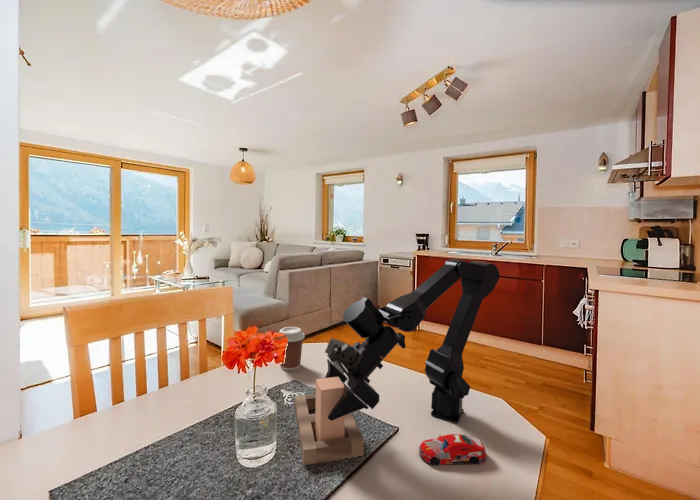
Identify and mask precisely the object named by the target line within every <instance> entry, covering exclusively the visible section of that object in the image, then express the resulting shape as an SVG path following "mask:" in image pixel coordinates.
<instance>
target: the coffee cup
mask: <svg viewBox="0 0 700 500" xmlns="http://www.w3.org/2000/svg"><path fill="white" fill-rule="evenodd" d="M278 333H284V334H285V335H286V337H287V338H288V346H287V349H286V358H285V363H284V364H280V363H279V366H280V369H281V370H285V371H294V370H297V369H299V368H301V363H302V362H301V361H302V352H303V351H302V350H303V340H304V339H305V337H306V335H305V333H304V332H303V331H302V329H301V328H300V327H298V326H297V327H296V326H285V327H283V328H281V329H279V332H278ZM282 338H283V337H282Z"/></svg>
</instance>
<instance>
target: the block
mask: <svg viewBox="0 0 700 500" xmlns="http://www.w3.org/2000/svg"><path fill="white" fill-rule="evenodd" d="M343 383H344V382H343ZM343 383H342V381H341V380H340V378H339V377H331V378H325V377H323V378H316V379H315V394H316V410H314V411H315V412H314V414H315V435H314V439H315V442H318V441H325V440H333V439H340V438H344V416H342V417H340V418H337V419H335V420H332V421H331V420H329V419H328V415H329V414H330V412H331V411H332V409H333V408H334V406H335V405H336V404H337V402H338V401H339V399H340V398H341V397H342V395H343V392H344V384H343Z"/></svg>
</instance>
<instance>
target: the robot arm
mask: <svg viewBox="0 0 700 500" xmlns="http://www.w3.org/2000/svg"><path fill="white" fill-rule="evenodd" d="M500 276H501V275H500V271H499V269H498V267H497V266H496V265H495V263H489V262H481V261H473V260H471V261H469V262H467V261H465V260H460V259H453V258H451V259H448V260H446V261H445V262H444V264H443V265H442V266H441V267H440V268H439V269H438V270H437V271H435V272H434V273H433V274H432V275H431V276H430V277H428V278H427V279H426V280H425V281H424V282H422V283H421V284H420V285H419V286H418V287H416V288H415V289H414V290H412V291H411V292H410V293H407V294H404V295H401V296H399V297H397V298H395V299H393V300H391V301H390V302H389V303H388V304H386V306H381V307H378V308H377V307H376V306H375V305H374V303H373V301H372V300H371V299H370V298H369V297H366V296H363V297H362V298H361V299H360V300H357V301H355V302H353V303H352V304H351V305H349V306H348V307H347V308H346V309H345V310H344V313H343V315H342V319H343V321H344V322H345V323H346V324H347V325H348V327H350V328H351V329H352V331H354V332H355V333H356V334H357V335H358V336H359V337H360V338H362V339H364V340H363V341H362V342H361V343H360V342H359V341H357V342H355V343H354V344H353V345H351V344H348V343H347V342H344V341H341V340H340V339H335V338H333V337H331V338H330V339H329V341H328V344H327V347H326V349H325V350H324V352H325V354H327V357H328V358H327V359H326V362H327V372H326V375H325V377H324V378H331V377H339V378H340V380H341V381H342V383H344V382H345V383H344V384H343V385H344V392H343V395H342V397H341V398H340V399H339V401H338V402H337V404H336V405H335V406H334V408H333V409H332V411H331V412H330V414H329V415H328V419H329V420H331V421H332V420H335V419H337V418H340V417H342V416H344V415H347V414H349V413H351V414H352V413H355V412H358V411H361V410H363V409H365V410H368V409H369V408H370V409H372V410H374V409H375V408H376V407H377V405H378V404H379V402H380V394H379V393H378V392H377V390H376V389H375V388H374V387H373V386H372V385H371V384H370V382H371V379H369V377H370V376H371V374H372V373H373V372H374V371H375V370H376V369H377V368H378V369H379V370H382V368H383V367H384V365H383V364H382V362H383V360H384V359H385V358H386V357H387V356H388V355H389V354H390V353H391V352H392V351H393V349H394V348H395V347H396V346H397V345H398V346H399V347H400V348H402V349H406V340H405V339H406V335H404V334H403V333H402V332H397V331H396V330H395V329H394V328H396V329H398V330H400V331H403V332H406V333H411V332H413V331H414V330H416V328H417V327H419V325H420V324H421V322H422V321H423V320H424V318H425V316H426V313H427V310H428V308H429V307H430V306H431V305H432V304H434V303H435V302H436V301H437V300H438V299H439V298H440V297H441V296H442V295H444V294H445V293H446V292H447V291H448V290H449V289H450V288H451V287H452V286H453V285H455V284H456V283H457V282H458V281H459V280H460V283H461V291H462V293H461V295H460V297H459V300H458V304H457V306H456V309H455V312H454V314H453V316H452V319H451V321H450V323H449V327H448V329H447V331H446V334H445V337H444V340H443V343H442V345H440V347H438V348H437V349H436V350H435V349H434V348H431V349H430V351H429V353H428V356H427V359H426V361H425V362H424V365H425V368H424V372H425V375H426V377H427V379H428V381H429V383H430V385H432V386H434V388H433V391H432V393H431V406H430V407H431V409H432V410H431V412H430V413H431V416H433V417H436V418H439V419H442V420H445V421H449V422H452V423H455V424H458V423H459V422H460V419H461V417H462V416H463V413H464V410H465V409H464V408H463V399H465V396H468V395H469V393H470V389H471V386H470V385H469V383H468V382H467V381H466V380H465V379H464V378H463V373H464V369H465V367H464V360H463V352H464V349H465V347H466V344H467V341H468V339H469V336H470V334H471V330H472V328H473V326H474V323H475V321H476V318H477V315H478V312H479V311H480V307H481V306H482V305H481V304H482V302H483V300H484V299H485V298H486V297H487V296H489V295H490V294H492V293H493V291H494V290H495V288H496V286H497V283H498V282H499V280H500ZM384 323H386V324H387V325H384ZM393 327H394V328H393ZM348 378H349V379H348ZM347 379H348V380H347ZM346 380H347V381H346Z"/></svg>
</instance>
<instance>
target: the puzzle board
mask: <svg viewBox="0 0 700 500" xmlns="http://www.w3.org/2000/svg"><path fill="white" fill-rule="evenodd" d="M313 409H314V410H313ZM315 409H316V393H311V394H310V393H309V394H301V395H295V396H294V412H295V417H296V423H297V424H296V425H297V433H298V438H299V446H300V451H301V458H302V459H301V460H302V465H303V466H306V465H313V464H315V465H316V464H320V463H327V462H333V461H340V459H342V460H346V459H345V458H349V459H352V458H351V457H355V458H357V457H356V456H362V457H364V456H365V454H364V453H365V451H364V450H365V441H364V439H363V436H362V435H361V432H360V430H359V427H358V425H357V423H356V420H355V418H354V416H353V413H352V412H351V413H349V414H347V415H344V438H340V439H333V440H325V441H318V442H316V439H315V413H309V411H315ZM363 455H364V456H363Z"/></svg>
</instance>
